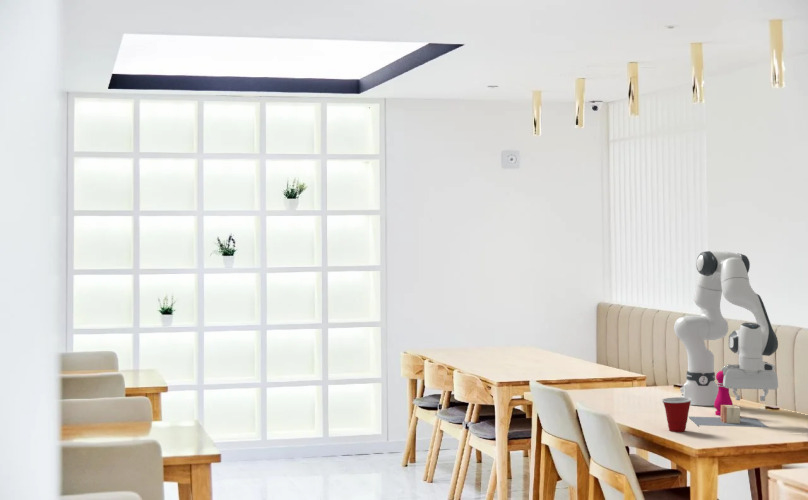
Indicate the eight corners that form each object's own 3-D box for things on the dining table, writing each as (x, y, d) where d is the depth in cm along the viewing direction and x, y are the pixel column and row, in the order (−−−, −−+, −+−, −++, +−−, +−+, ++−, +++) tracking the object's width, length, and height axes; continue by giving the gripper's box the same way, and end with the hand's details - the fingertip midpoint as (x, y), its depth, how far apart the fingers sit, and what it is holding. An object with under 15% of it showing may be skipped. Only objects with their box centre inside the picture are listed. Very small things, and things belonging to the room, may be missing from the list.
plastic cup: (658, 427, 362) (658, 396, 362) (687, 428, 362) (687, 396, 362) (664, 433, 351) (665, 400, 351) (694, 433, 351) (695, 400, 351)
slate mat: (688, 417, 386) (688, 416, 386) (755, 419, 383) (755, 418, 383) (698, 426, 366) (698, 425, 366) (768, 428, 363) (768, 427, 363)
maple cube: (736, 420, 377) (720, 420, 378) (736, 405, 377) (720, 405, 378) (740, 423, 371) (724, 422, 372) (740, 407, 371) (724, 407, 372)
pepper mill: (720, 417, 387) (721, 368, 387) (710, 414, 394) (710, 366, 394) (736, 417, 389) (736, 367, 389) (725, 414, 396) (726, 365, 396)
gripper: (724, 365, 372) (724, 400, 372) (779, 366, 370) (779, 402, 369) (721, 363, 378) (720, 398, 378) (775, 364, 376) (774, 399, 376)
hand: (750, 400), depth 374 cm, fingers open, 8 cm apart
